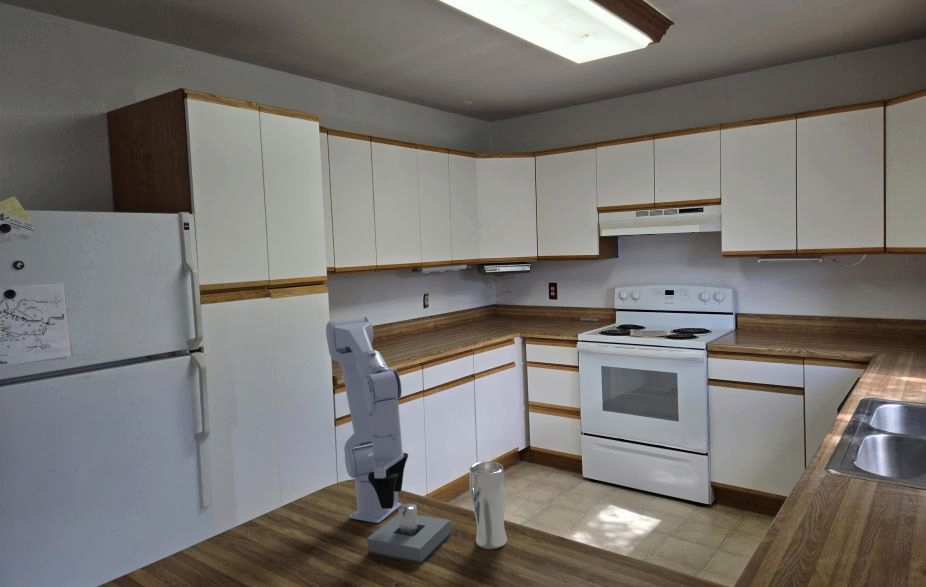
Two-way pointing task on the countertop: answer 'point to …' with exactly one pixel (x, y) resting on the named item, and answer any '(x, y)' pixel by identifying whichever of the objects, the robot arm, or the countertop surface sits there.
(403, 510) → the peg
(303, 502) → the countertop surface
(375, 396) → the robot arm
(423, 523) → the hole block
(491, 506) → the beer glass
